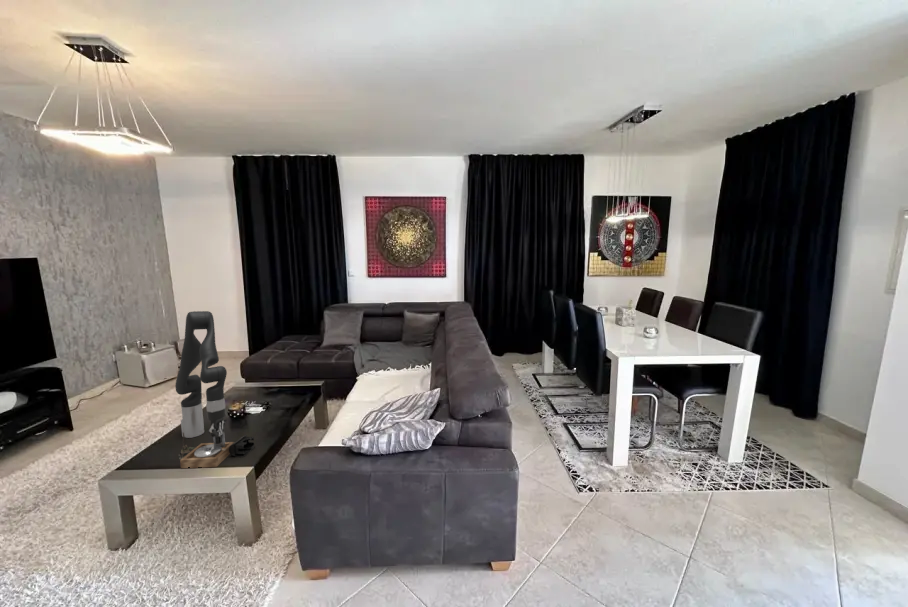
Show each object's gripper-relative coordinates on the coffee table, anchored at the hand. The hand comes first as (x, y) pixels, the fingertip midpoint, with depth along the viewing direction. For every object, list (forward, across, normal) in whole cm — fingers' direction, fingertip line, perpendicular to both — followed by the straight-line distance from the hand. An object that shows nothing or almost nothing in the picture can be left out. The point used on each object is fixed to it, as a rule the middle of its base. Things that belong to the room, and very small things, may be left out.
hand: (218, 443), depth 177 cm
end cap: (+8, -6, +8) cm, 13 cm away
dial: (+6, -2, -5) cm, 8 cm away
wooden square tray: (+8, -2, -6) cm, 10 cm away
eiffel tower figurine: (+9, -6, -19) cm, 22 cm away
